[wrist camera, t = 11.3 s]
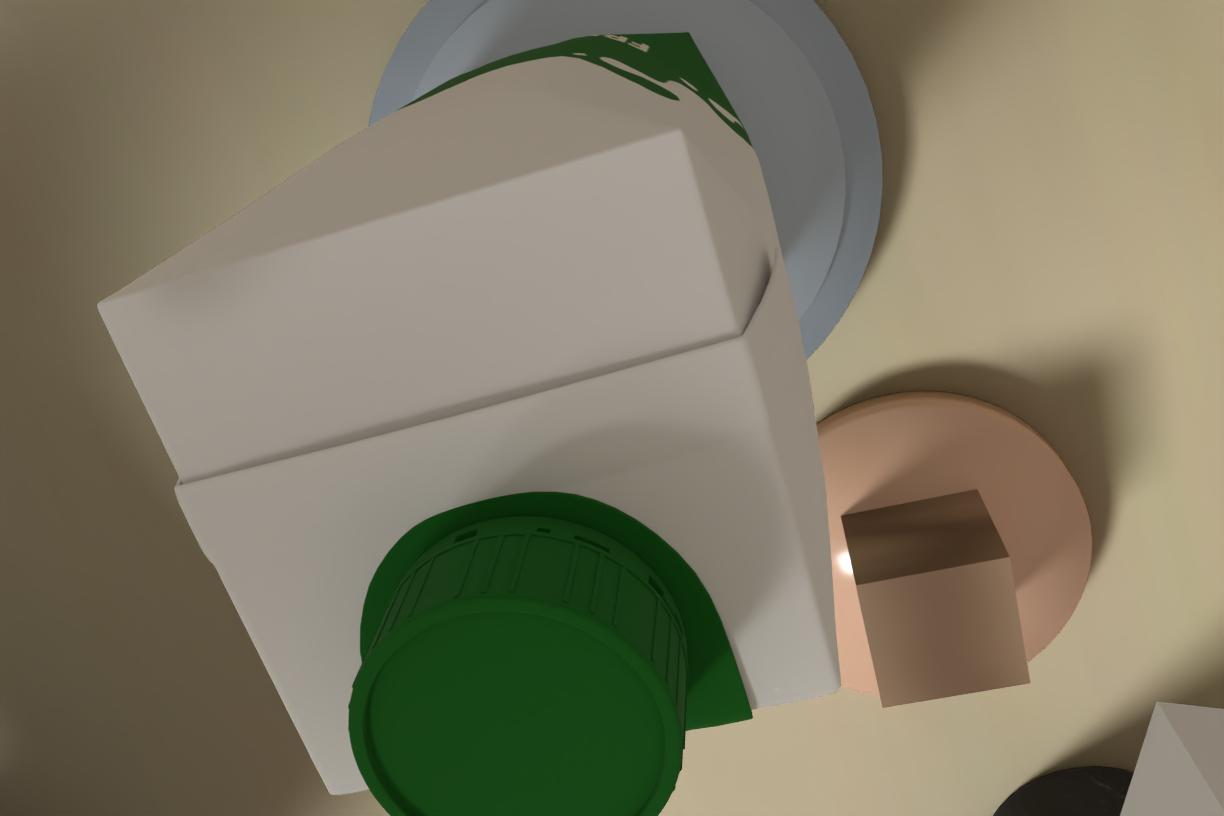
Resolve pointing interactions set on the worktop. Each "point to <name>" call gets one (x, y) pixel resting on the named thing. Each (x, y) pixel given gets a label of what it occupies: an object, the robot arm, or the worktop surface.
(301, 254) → the soya milk
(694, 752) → the worktop surface
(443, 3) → the slate dish
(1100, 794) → the travel mug
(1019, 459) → the terracotta dish
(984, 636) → the walnut block
